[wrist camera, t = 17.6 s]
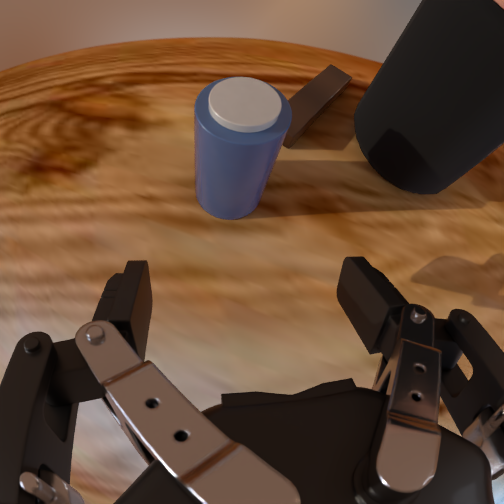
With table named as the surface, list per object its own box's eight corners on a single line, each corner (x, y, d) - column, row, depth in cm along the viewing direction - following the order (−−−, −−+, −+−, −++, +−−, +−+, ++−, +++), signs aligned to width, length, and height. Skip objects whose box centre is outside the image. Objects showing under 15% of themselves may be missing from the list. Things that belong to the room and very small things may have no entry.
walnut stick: (326, 74, 25) (331, 63, 24) (346, 87, 25) (352, 77, 24) (262, 132, 22) (265, 119, 21) (288, 149, 22) (293, 137, 20)
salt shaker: (223, 151, 21) (236, 58, 13) (273, 186, 21) (312, 101, 13) (181, 193, 20) (173, 102, 11) (234, 233, 19) (257, 155, 11)
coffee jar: (446, 219, 23) (600, 108, 6) (341, 169, 22) (482, -26, 5) (439, 134, 26) (540, 26, 9) (352, 88, 25) (435, -57, 8)
